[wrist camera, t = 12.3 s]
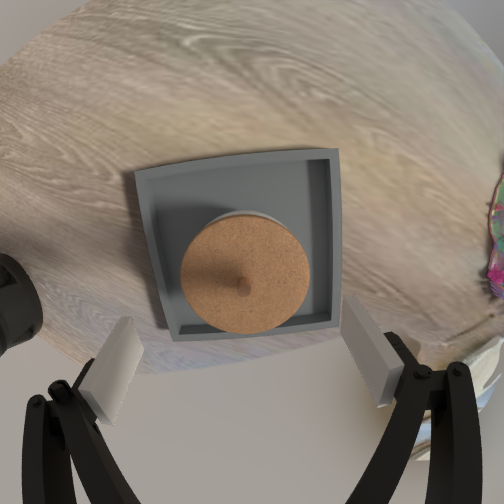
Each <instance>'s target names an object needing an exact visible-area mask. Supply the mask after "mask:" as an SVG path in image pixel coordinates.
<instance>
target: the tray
mask: <svg viewBox="0 0 504 504" xmlns="http://www.w3.org/2000/svg"><path fill="white" fill-rule="evenodd" d="M134 174H135V180H136V187H137V193H138V199H139V205H140V211H141V216H142V222H143V227H144V232H145V237H146V242H147V246H148V251H149V255H150V260H151V264H152V268H153V273H154V277H155V281H156V285H157V288H158V292H159V296H160V300H161V303H162V307H163V311H164V314H165V318H166V321H167V324H168V328H169V331H170V334H171V337H172V341H173V342H174V341H202V340H221V339H235V338H248V337H259V336H269V335H279V334H287V333H296V332H304V331H311V330H318V329H325V328H332V327H338V326H339V318H340V301H341V278H342V201H341V178H340V162H339V148H334V149H305V150H287V151H273V152H261V153H251V154H241V155H232V156H224V157H216V158H209V159H202V160H195V161H189V162H182V163H176V164H171V165H165V166H160V167H154V168H149V169H144V170H140V171H135V172H134ZM240 210H250V211H257V212H261V213H264V214H267V215H269V216H271V217H273V218H275V219H276V220H278V221H279V222H281V223H282V224H283V225H284V226H285V227H287V228H288V230H289V231H290V232H291V233H292V234H293V235H294V236H295V237H296V239H297V240H298V241H299V243H300V244H301V246H302V248H303V250H304V251H305V254H306V257H307V259H308V263H309V269H310V281H309V287H308V291H307V294H306V297H305V299H304V300H303V302H302V304H301V306H300V307H299V308H298V310H297V311H296V312H295V313H294V314H293V315H292V316H291V317H290V318H289V319H288V320H286V321H285V322H284V323H282V324H281V325H279V326H277V327H275V328H273V329H270V330H267V331H264V332H260V333H254V334H236V333H231V332H226V331H223V330H220V329H218V328H216V327H214V326H212V325H210V324H208V323H207V322H205V321H204V320H203V319H201V318H200V317H199V316H198V315H197V314H196V313H195V312H194V311H193V309H192V308H191V307H190V305H189V304H188V302H187V300H186V299H185V296H184V293H183V291H182V287H181V282H180V268H181V262H182V259H183V256H184V253H185V251H186V249H187V247H188V245H189V244H190V242H191V241H192V240H193V238H194V237H195V236H196V234H198V233H199V232H200V231H201V230H202V229H203V228H204V227H205V226H206V225H207V224H208V223H209V222H211V221H212V220H214V219H216V218H217V217H219V216H221V215H223V214H226V213H229V212H233V211H240Z"/></svg>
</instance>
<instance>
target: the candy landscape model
mask: <svg viewBox="0 0 504 504" xmlns="http://www.w3.org/2000/svg"><path fill="white" fill-rule="evenodd" d="M489 229H490V234H491V235H492V239H493V241H494V244H493V250H492V253H491V256H490V263H489V266H488V273H487V276H488V277H489V278H490V279H491V281H488V282H490V283H491V286H492V287H494V289H495V290H496V291H495V290H494V289H493V288H491V287H490V288H491V289H492V290H493V291H494V292H495V293H494V292H492V293H494V294H495V295H496V296H497V297H501V298H502V299H504V173H503V175H502V179H501V181H500V182H499V185H498V186H497V187H496V191H495V195H494V199H493V203H492V207H491V211H490V214H489ZM492 284H493V285H492ZM494 284H495V285H494ZM497 291H498V292H497ZM496 293H498V295H497V294H496Z"/></svg>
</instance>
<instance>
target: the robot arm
mask: <svg viewBox="0 0 504 504" xmlns="http://www.w3.org/2000/svg"><path fill="white" fill-rule="evenodd" d="M42 323H43V313H42V307H41V303H40V300H39V297H38V294H37V292H36V290H35V288H34V286H33V284H32V282H31V280H30V278H29V277H28V275H27V274H26V272H25V271H24V270H23V268H22V267H21V266H20V265H19V264H18V263H17V262H16V261H15V260H14V259H12V258H11V257H9V256H7V255H4V254H0V357H1V356H2V355H3V354H4V352H5V351H6V350H7V349H9V348H11V347H14V346H16V345H18V344H21V343H23V342H26V341H28V340H30V339H32V338H33V337H34V336H35V335H36V334H37V333H38V332H39V331H40V329H41V327H42ZM340 333H341V335H342V337H343V338H344V340H345V342H346V344H347V346H348V348H349V350H350V352H351V354H352V356H353V358H354V360H355V362H356V364H357V366H358V368H359V370H360V372H361V375H362V377H363V378H364V381H365V383H366V385H367V387H368V389H369V391H370V393H371V395H372V397H373V399H374V401H375V404H376V406H377V408H379V407H382V406H385V405H389V404H391V403H392V400H393V397H395V399H396V401H397V403H396V406H395V408H394V411H393V413H392V416H391V418H390V421H389V423H388V425H387V427H386V430H385V432H384V434H383V437H382V439H381V441H380V443H379V445H378V447H377V449H376V451H375V453H374V455H373V457H372V459H371V461H370V462H369V464H368V466H367V468H366V470H365V472H364V473H363V475H362V477H361V479H360V480H359V482H358V484H357V486H356V487H355V489H354V491H353V492H352V494H351V495H350V497H349V498H348V500H347V502H346V503H345V504H388V503H389V501H390V499H391V497H392V495H393V493H394V491H395V489H396V487H397V485H398V483H399V480H400V478H401V476H402V474H403V471H404V469H405V467H406V464H407V462H408V459H409V457H410V454H411V452H412V449H413V446H414V444H415V441H416V438H417V435H418V432H419V429H420V426H421V423H422V419H423V416H424V413H425V410H431V451H430V466H429V477H428V486H427V493H426V500H425V504H481V502H482V447H481V435H480V426H479V418H478V410H477V404H476V398H475V392H474V387H473V382H472V377H471V373H470V369H469V367H468V366H467V365H466V364H464V363H462V362H458V361H456V362H452V363H450V364H449V366H448V367H447V370H441V371H432V369H431V368H429V367H428V366H426V365H422V364H419V363H418V362H417V360H416V359H415V357H414V356H413V355H412V353H411V352H410V351H409V349H408V348H407V347H406V345H405V344H404V343H403V341H402V340H401V339H400V337H399V336H398V335H396V334H394V333H393V332H387V333H382V331H381V330H380V328H379V327H378V326H377V324H376V323H375V321H374V320H373V319H372V317H371V316H370V315H369V313H368V312H367V310H366V309H365V308H364V306H363V305H362V304H361V302H360V301H359V300H358V298H357V297H356V296H355V294H353V295H346V296H343V304H342V319H341V331H340ZM143 351H144V349H143V347H142V344H141V342H140V339H139V336H138V334H137V331H136V328H135V325H134V323H133V320H132V317H121V318H120V320H119V321H118V323H117V324H116V326H115V327H114V329H113V331H112V332H111V334H110V335H109V337H108V339H107V340H106V342H105V344H104V345H103V347H102V348H101V350H100V352H99V353H98V355H97V357H96V358H92V359H90V360H89V361H88V362H87V363H86V364H85V366H84V367H83V369H82V371H81V372H80V374H79V376H78V377H77V379H76V381H75V383H74V384H73V386H72V388H70V386H69V384H68V383H67V382H66V381H65V380H57V381H55V382H53V383H52V384H51V385H50V386H49V388H48V393H49V395H50V396H51V398H52V399H53V400H51V401H47V400H46V399H45V398H44V397H43V396H42V395H40V394H39V395H34V396H33V397H31V398H30V399H29V401H28V404H27V409H26V416H25V425H24V435H23V448H22V497H23V504H77V503H76V497H75V491H74V485H73V477H72V469H71V460H70V455H71V457H72V460H73V463H74V466H75V468H76V471H77V473H78V476H79V478H80V480H81V482H82V485H83V487H84V490H85V492H86V494H87V496H88V498H89V500H90V502H91V504H141V503H140V502H139V500H138V499H137V497H136V496H135V494H134V493H133V491H132V489H131V488H130V486H129V485H128V483H127V482H126V480H125V478H124V476H123V475H122V473H121V471H120V469H119V468H118V466H117V464H116V462H115V460H114V458H113V457H112V455H111V453H110V451H109V449H108V447H107V445H106V443H105V441H104V439H103V437H102V434H101V432H100V430H99V428H98V426H97V424H96V423H95V421H96V419H97V418H98V419H99V421H100V422H101V423H102V424H106V425H112V426H114V424H115V421H116V418H117V416H118V413H119V411H120V408H121V405H122V402H123V400H124V397H125V395H126V392H127V390H128V387H129V385H130V382H131V380H132V378H133V375H134V373H135V370H136V368H137V365H138V363H139V361H140V358H141V356H142V354H143Z"/></svg>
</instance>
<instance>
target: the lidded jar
mask: <svg viewBox="0 0 504 504" xmlns="http://www.w3.org/2000/svg"><path fill="white" fill-rule="evenodd" d="M309 281H310V269H309V263H308V259H307V257H306V254H305V251H304V250H303V248H302V246H301V244H300V243H299V241H298V240H297V239H296V237H295V236H294V235H293V234H292V233H291V232H290V231H289V230H288V228H287V227H285V226H284V225H283V224H282V223H281V222H279V221H278V220H276V219H275V218H273V217H271V216H269V215H267V214H264V213H261V212H257V211H250V210H240V211H233V212H229V213H226V214H223V215H221V216H219V217H217V218H216V219H214V220H212V221H211V222H209V223H208V224H207V225H206V226H205V227H204V228H203V229H202V230H201V231H200V232H199V233H198V234H196V236H195V237H194V238H193V240H192V241H191V242H190V244H189V245H188V247H187V249H186V251H185V253H184V256H183V259H182V262H181V268H180V282H181V287H182V291H183V293H184V296H185V299H186V300H187V302H188V304H189V305H190V307H191V308H192V309H193V311H194V312H195V313H196V314H197V315H198V316H199V317H200V318H201V319H203V320H204V321H205V322H207V323H208V324H210V325H212V326H214V327H216V328H218V329H220V330H223V331H226V332H231V333H236V334H254V333H260V332H264V331H267V330H270V329H273V328H275V327H277V326H279V325H281V324H282V323H284V322H285V321H286V320H288V319H289V318H290V317H291V316H292V315H293V314H294V313H295V312H296V311H297V310H298V308H299V307H300V306H301V304H302V302H303V300H304V299H305V297H306V294H307V291H308V287H309Z"/></svg>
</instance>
